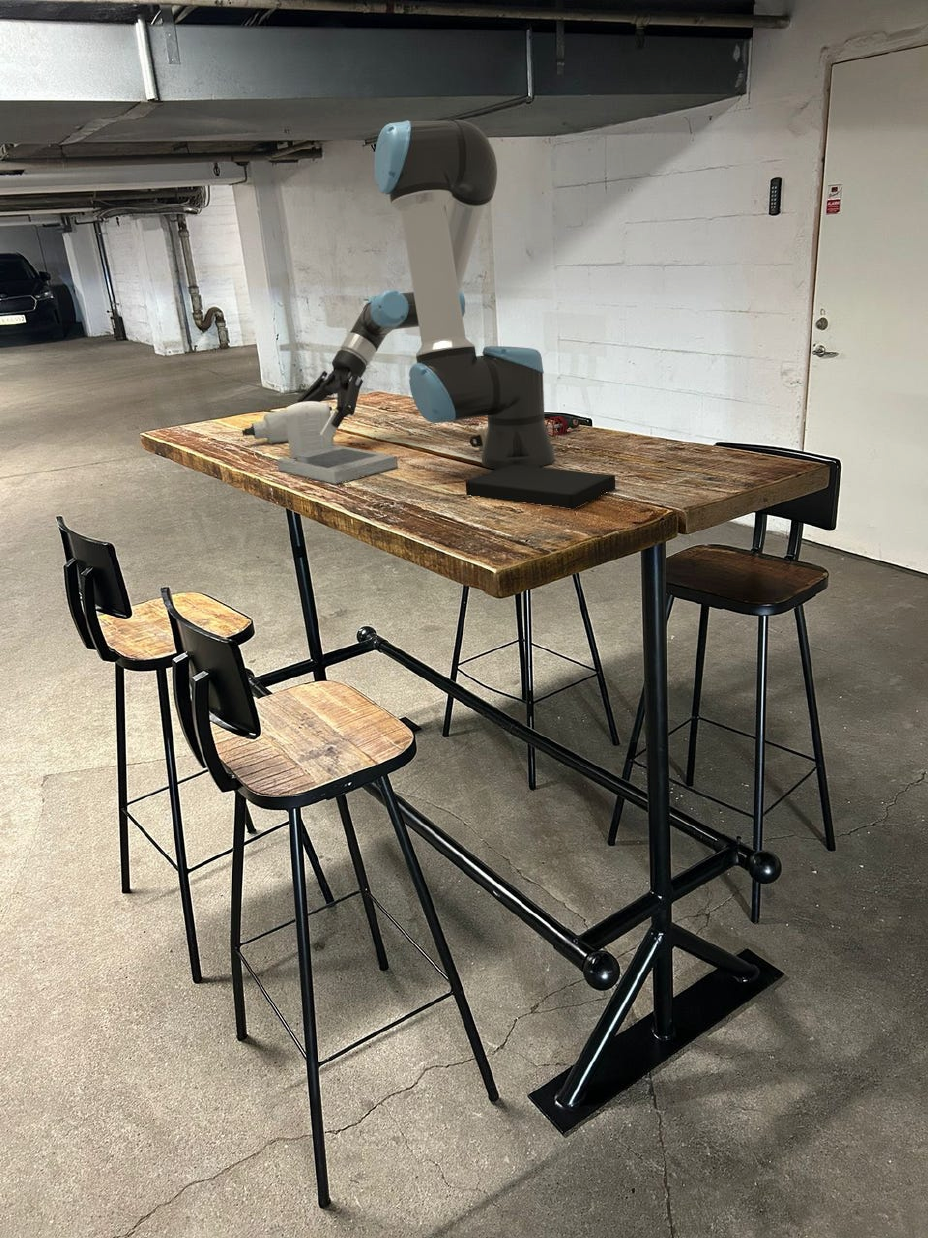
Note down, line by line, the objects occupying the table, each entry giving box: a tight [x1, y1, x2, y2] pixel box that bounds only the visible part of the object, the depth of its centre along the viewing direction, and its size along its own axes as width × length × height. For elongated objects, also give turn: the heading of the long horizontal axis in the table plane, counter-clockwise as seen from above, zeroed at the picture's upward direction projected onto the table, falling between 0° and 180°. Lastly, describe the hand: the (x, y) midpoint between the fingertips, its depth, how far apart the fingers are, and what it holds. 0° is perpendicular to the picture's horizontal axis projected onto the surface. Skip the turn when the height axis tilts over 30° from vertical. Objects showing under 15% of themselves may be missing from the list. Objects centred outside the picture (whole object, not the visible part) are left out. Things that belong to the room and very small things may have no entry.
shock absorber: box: [469, 415, 581, 451], centre depth 203 cm, size 5×5×30 cm
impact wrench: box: [241, 404, 337, 444], centre depth 232 cm, size 8×23×25 cm
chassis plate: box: [276, 444, 399, 485], centre depth 191 cm, size 22×16×2 cm
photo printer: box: [285, 401, 335, 459], centre depth 204 cm, size 10×4×12 cm, turn 98°
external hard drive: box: [465, 464, 616, 510], centre depth 162 cm, size 14×23×3 cm, turn 52°
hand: (308, 435), depth 204 cm, fingers open, 13 cm apart
